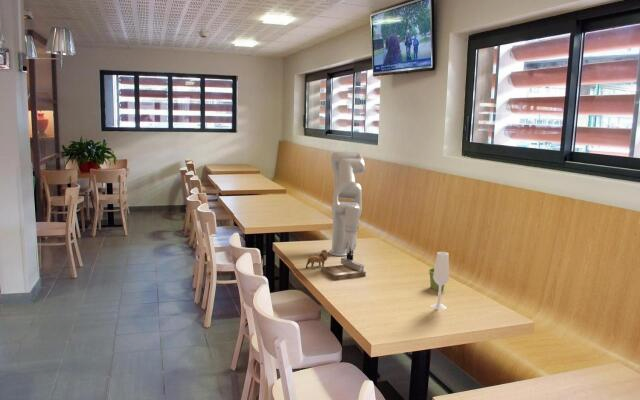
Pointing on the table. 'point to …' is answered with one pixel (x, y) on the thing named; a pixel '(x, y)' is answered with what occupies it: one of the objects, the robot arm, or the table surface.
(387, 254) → the table surface
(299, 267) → the table surface
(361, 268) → the folding leg
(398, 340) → the table surface
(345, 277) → the stool seat
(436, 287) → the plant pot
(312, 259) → the lion figurine
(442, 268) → the champagne flute
